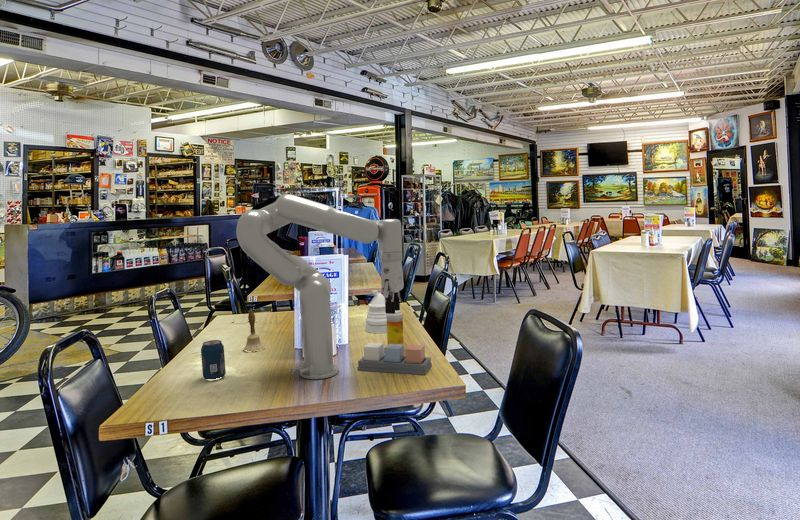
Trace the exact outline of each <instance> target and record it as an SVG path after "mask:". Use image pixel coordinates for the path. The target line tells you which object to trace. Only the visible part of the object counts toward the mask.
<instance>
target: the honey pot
mask: <svg viewBox="0 0 800 520" xmlns="http://www.w3.org/2000/svg"><path fill="white" fill-rule="evenodd" d="M371 293H372V294H373V295H374V296H373V298H372V300H371V302H370V303H368V304H367V306H368V310H367V314H366V317H365V331H366V332H367V333H369V332H370V334H375V333H380V334H387V318H386V312H385V296H384V295H383V293H381V292H379V290H376V289H375V290H371Z"/></svg>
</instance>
